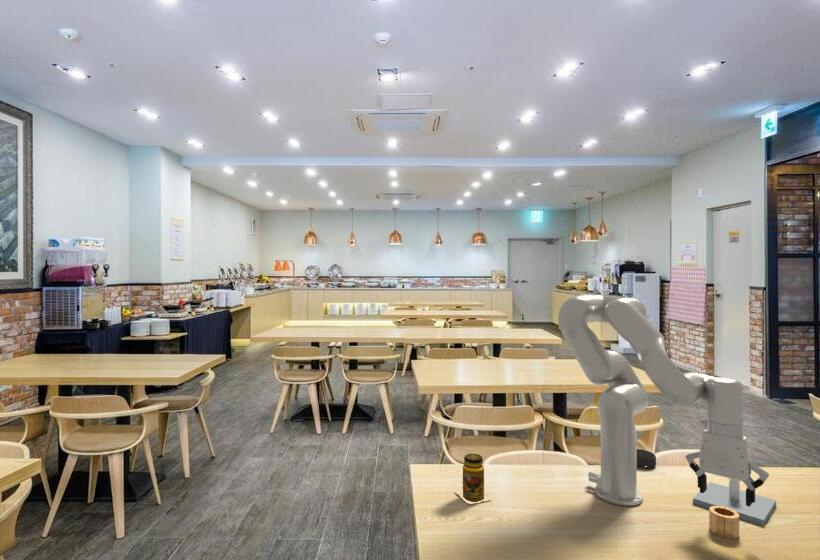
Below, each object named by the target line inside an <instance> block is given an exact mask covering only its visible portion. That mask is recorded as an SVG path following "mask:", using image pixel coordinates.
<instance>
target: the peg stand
mask: <svg viewBox="0 0 820 560" xmlns="http://www.w3.org/2000/svg"><path fill="white" fill-rule="evenodd" d="M740 488H741V485H740V481H738V480H734V479H730V478H728V486H726V485H722V484H719V483H714V482H712V481H709V482H707V490H706V491H705V492H704V493H700V491H699V492H698V493H696V494H695V496H693V497H692V504H693V505H695V506H699V507H703V508H706V509H709V508H710V507H711V506H721V507H726V508H729V509H732V510H734V511H736V512H737V513H738V514H739V520H740V519H741V520H743V521H747V522H750V523H753V524H757V525H759V526H763V527H764V526H765V525H766V524H767V521H768V520H769V519H770V517H771V515H772V514H773V512H774V510H775V508H776V507H777V500H776V499H773V498H769V497H765V496H761V495H759V494H755V503H752V504H751V506H750V507H749V506H747V505H746V491H744V490H741V489H740Z"/></svg>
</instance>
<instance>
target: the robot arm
mask: <svg viewBox="0 0 820 560" xmlns="http://www.w3.org/2000/svg"><path fill="white" fill-rule="evenodd" d="M557 322H558V326H559V330H560V331H561V334H562V337H564V338H565V341H566V342H567V344H568V345H569V347H570V349H571V351H572V353H573V355H574V357H575V359H576V361H577V362H578V364H579V366H580V368H581V369H582V371H583V373H584V375H585V377H586V378H587V379H588V381H589V382H590V383H592V384H594V385H599V386H601V385H602V386H603V385H607V386H608V388H606V389H605V390H603V391H602V392H601V394H600V395H599V397H598V400H597V410H598V416H599V426H600V474H599V473H596V472H593V471H589V472H588V475H587V477H588V481H589V482H592V483H595V484H596V486H595V488H594V494H595V495H596V496H597V498H600V499H601V500H603V501H605V502H608V503H611V504H614V505H619V506H628V507H629V506H637V505H640V504H641V503H643V500H644V497H643V493H641V491H640V490H638V489H637V487H638V486H637V481H638V480H637V478H638V477H637V475H638V474H637V472H638V471H637V468H638V467H637V449H638V447H637V445H638V444H637V441H638V440H637V438H638V437H637V429H636V425H635V416H637V415H639V414H640V413H642V412H643V411H645V410H646V409H647V407H648V403H649V398H648V397H649V396H648V394H647V391H646V389H645V387H644V385H643V384H642V382H641V380H640V379H639V377H638V375H637V374H636V372H635V371H634V369H633V367H632V366H631V364H630V363H629V361H628V359H627V358H626V357H625V356H623V354H621V353H620V352H618V351H615V350H610V349H609V350H606V349H605V348H604V346H603V345H602V343H601V341H600V340H599V337H598V336H597V335H596V333H595V332H594V331H593V330H592V329H591V328H590V327H589V325H588V323H595V322H598V323H608V324H609V325H610V326H611V327H612V328H613V329H614V330H615V331H616V333H618V335H619V336H620V337H621V338H622V339H623V340H624V341H625V342H626V344H627V345H628V346H629V348H631V349H632V350H633V352H634V353H635V354H636V355H637V358H638V360H639V362H640V365H641V366H642V368H643V370H644V372H645V374H646V375H647V377H648V378H649V380H650V381H651V382H652V383H653V384H654V386H655V387H656V388H657V390H658V391H659V392H660V393H661V394H662V395H663V396H664V397H665V398H666V399H667V400H668V401H669V402H671V403H673V404H674V405H676V406H679V407H691V406H693V405H694V404H697V403H700V402H706V403H705V405H706V406H705V407H706V409H705V411H706V418H705V419H700V420H699V424H700V425H701V426H705V427H704V428H705V429H704V430H702V433H701V438H700V445H699V446H700V447H699V451H695V452H691V453H688V454H686V455H685V459H686V461H687V463H688V464H689V467H690V469H692V471H693V473H695V476H696V477H697V487H698V488H699V492H700V493H704V492H705V491H706V490H707V484H708V482H707V480H708V479H707V477H708V476H707V474H706V473H708V474H711V475H714V476H719V477H723V478H727V479H729V478H730V479H734V480H738V481H741V482H743V483H744V485H746V486H747V487H746V488H745V492H746V505H747V506H749V507H750V506H751V504H752V503H755V495H756V489H757V488H759V487H762V485H763V484H764V483H765V482H766V481H767V479H768V478H769V477H770V474H769V472H767V471H765V470H764V469H763V468H761V466H758V465H756V464H755V463H754V462H752V461H751V453H750V452H751V451H750V446H749V442H748V438H747V437H746V436H745V435H744V409H743V408H744V406H743V405H744V399H743V395H744V393H743V392H744V391H743V385H742V383H741V381H739V379H738V380H737V379H735V378H730V377H722V376H719V377H718V376H712V375H711V376H710V375H707V374H702V373H699V372H684V373H683V372H682V371H681V370H680V369H679V368H678V367H677V366H676V364H675V363H674V362H673V361H672V359H671V358H670V357H669V355H668V353H667V350H666V344H665V343H666V341H665V337H664V335H663V334H662V333H661V332H660V331H659V330H658V328H657V327H656V326H655V325H653V324H652V322H651V321H649V319H648V318H647V309H646V307H645V305H644V304H643V302H641V301H640V300H639V299H636V298H634V297H620V296H619V297H618V296H609V295H600V294H584V295H582V294H581V295H575V296H572V297H569V298H567V299H566V300H565V301H564V302H563V303H562V304H561V306H560V308H559V311H558V316H557ZM695 459H699V462H698V463H699V464H698V463H697V462H695ZM752 471H753V472H754V473H756V474H757V475H758V477H759V478H758V479H756V480H754V479H753V478H752V476H751V475H752ZM763 486H764V485H763Z"/></svg>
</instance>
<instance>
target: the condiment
mask: <svg viewBox="0 0 820 560" xmlns="http://www.w3.org/2000/svg"><path fill="white" fill-rule="evenodd" d="M463 459H464V460H463V465H462V491H463V497H464V498H465V499H466V500H468V501H471V502H478V501H481V500H483V499H484V495H485V467H484V463H483V461H484V460H483V459H484V458H483V456H482V455H480V454H478V453H468V454H465V455H464V458H463Z"/></svg>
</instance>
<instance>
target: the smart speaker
mask: <svg viewBox="0 0 820 560" xmlns="http://www.w3.org/2000/svg"><path fill="white" fill-rule="evenodd" d="M656 465H657V456H656V455H655V454H654V453H653V452H652V451H650V450H647V449H642V448H641V449H639V448H637V468H639V467H645V466H647V467H645V468H644V469H653V468H655V467H656Z"/></svg>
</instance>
